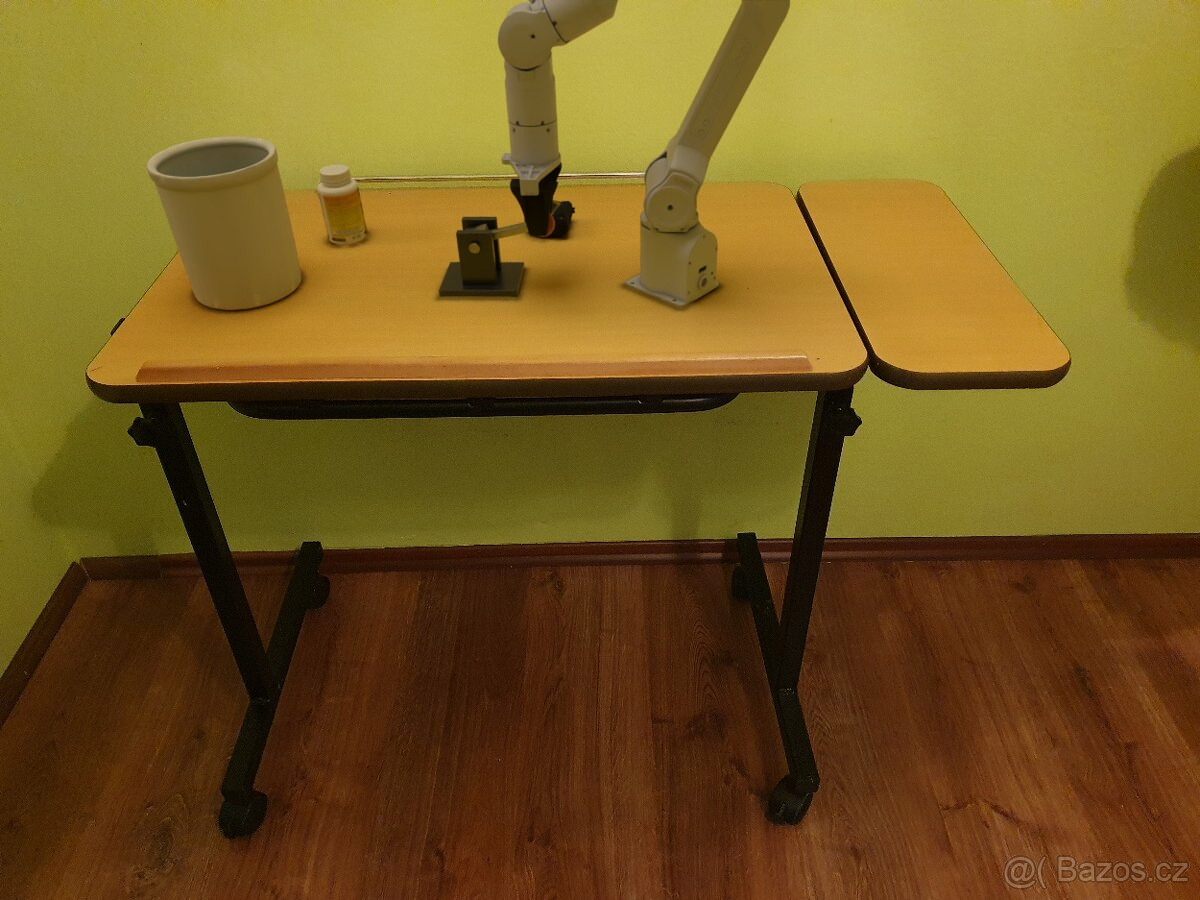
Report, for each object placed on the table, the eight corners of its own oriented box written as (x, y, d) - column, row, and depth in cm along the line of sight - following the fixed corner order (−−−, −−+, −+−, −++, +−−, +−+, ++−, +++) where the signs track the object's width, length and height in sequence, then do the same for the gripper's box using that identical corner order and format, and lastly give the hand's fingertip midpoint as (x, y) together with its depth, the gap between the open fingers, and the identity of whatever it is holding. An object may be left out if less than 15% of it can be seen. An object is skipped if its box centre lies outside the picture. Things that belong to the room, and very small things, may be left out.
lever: (558, 227, 115) (551, 203, 113) (556, 238, 112) (549, 214, 110) (473, 246, 117) (465, 223, 115) (469, 257, 114) (461, 234, 112)
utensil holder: (213, 261, 126) (173, 135, 115) (319, 259, 125) (289, 132, 114) (173, 314, 114) (124, 179, 103) (290, 311, 114) (254, 176, 103)
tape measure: (568, 242, 127) (567, 217, 125) (520, 240, 128) (518, 216, 126) (575, 222, 133) (574, 198, 130) (530, 220, 134) (528, 196, 131)
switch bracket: (524, 270, 121) (519, 211, 116) (517, 299, 115) (512, 238, 110) (451, 269, 122) (443, 211, 117) (439, 298, 115) (430, 238, 110)
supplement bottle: (375, 239, 130) (361, 169, 124) (339, 250, 127) (324, 180, 121) (357, 227, 133) (343, 158, 127) (322, 237, 131) (306, 168, 124)
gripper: (506, 99, 111) (515, 204, 119) (489, 140, 99) (500, 254, 108) (564, 98, 110) (568, 204, 119) (553, 140, 99) (559, 254, 107)
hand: (540, 228), depth 113 cm, fingers closed on lever, 3 cm apart
